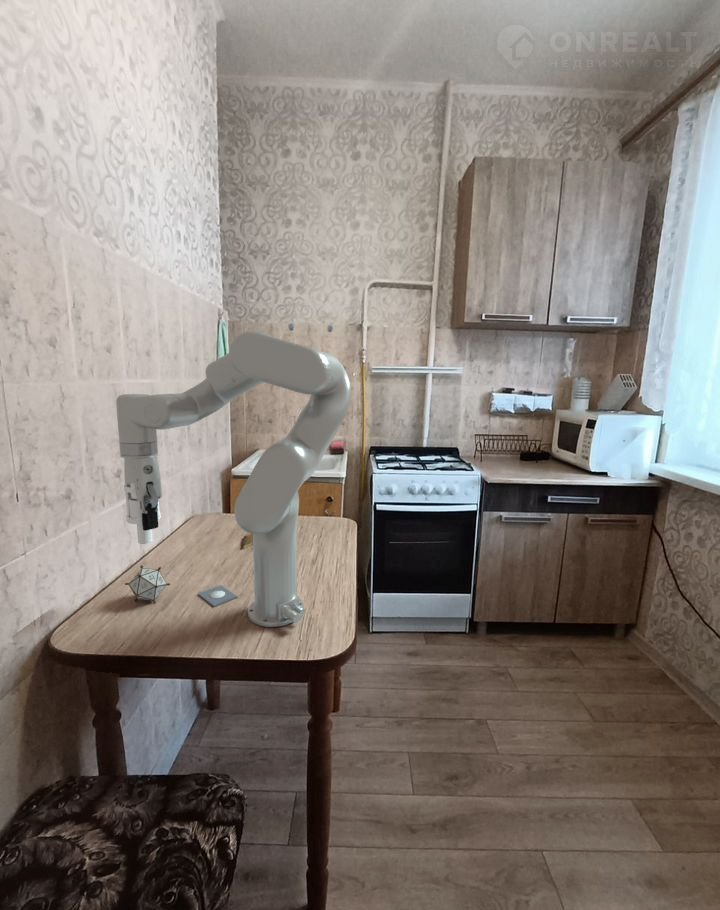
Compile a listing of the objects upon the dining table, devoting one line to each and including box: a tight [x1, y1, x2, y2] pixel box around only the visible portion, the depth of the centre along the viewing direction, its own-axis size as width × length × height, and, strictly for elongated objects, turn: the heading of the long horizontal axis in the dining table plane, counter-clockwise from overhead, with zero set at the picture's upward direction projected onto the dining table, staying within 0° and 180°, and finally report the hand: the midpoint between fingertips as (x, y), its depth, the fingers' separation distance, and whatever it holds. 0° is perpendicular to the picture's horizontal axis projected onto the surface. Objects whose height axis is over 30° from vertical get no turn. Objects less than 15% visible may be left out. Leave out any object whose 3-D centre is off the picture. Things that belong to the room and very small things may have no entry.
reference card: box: [197, 584, 238, 608], centre depth 101 cm, size 8×6×1 cm
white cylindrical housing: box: [123, 483, 162, 545], centre depth 95 cm, size 7×7×15 cm
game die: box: [124, 565, 172, 604], centre depth 98 cm, size 9×8×10 cm
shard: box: [242, 533, 253, 550], centre depth 136 cm, size 11×8×2 cm
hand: (144, 524), depth 96 cm, fingers closed on white cylindrical housing, 6 cm apart
